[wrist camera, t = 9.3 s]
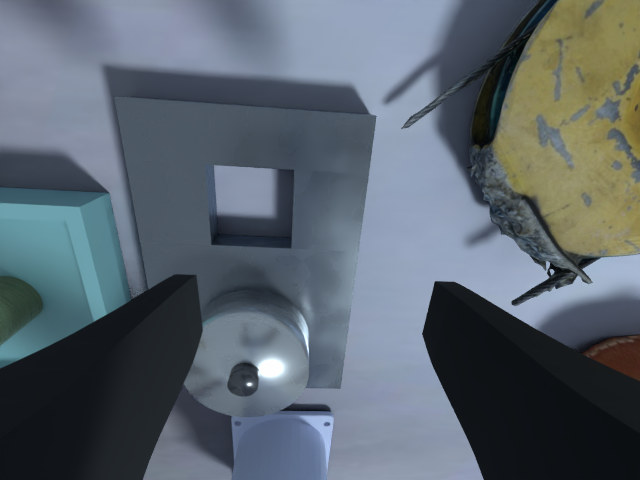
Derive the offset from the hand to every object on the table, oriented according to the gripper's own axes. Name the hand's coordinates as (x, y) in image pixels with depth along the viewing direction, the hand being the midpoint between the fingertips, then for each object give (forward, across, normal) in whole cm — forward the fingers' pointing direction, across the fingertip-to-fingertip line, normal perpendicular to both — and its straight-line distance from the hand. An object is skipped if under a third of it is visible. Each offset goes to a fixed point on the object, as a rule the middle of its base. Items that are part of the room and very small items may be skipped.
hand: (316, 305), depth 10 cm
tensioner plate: (+9, +3, +4) cm, 11 cm away
